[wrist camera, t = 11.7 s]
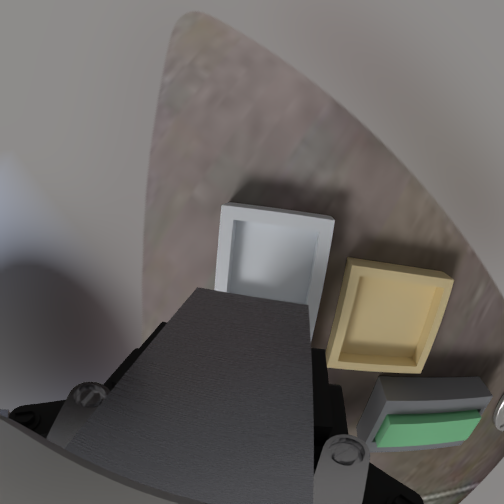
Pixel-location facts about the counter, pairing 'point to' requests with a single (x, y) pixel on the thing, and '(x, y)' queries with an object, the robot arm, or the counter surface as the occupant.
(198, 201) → the counter surface
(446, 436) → the button
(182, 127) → the counter surface
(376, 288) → the shallow yellow square dish
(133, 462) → the block
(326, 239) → the tray
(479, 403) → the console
